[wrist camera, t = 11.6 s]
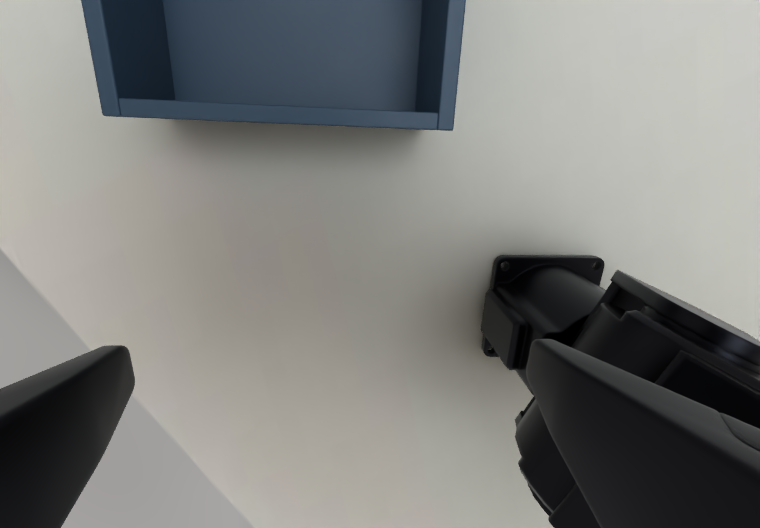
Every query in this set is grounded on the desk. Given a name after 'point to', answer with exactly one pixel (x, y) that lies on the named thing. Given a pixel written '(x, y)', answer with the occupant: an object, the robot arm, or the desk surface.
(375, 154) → the desk surface
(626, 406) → the robot arm
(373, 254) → the desk surface
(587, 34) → the desk surface
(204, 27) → the bin
